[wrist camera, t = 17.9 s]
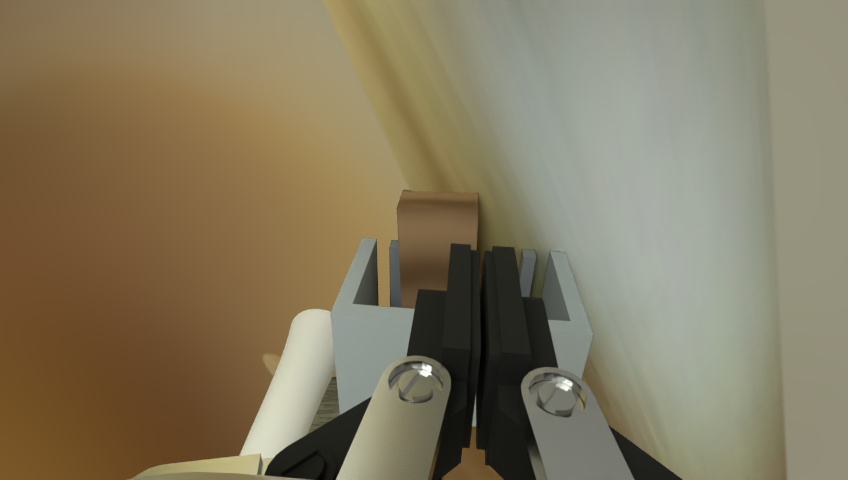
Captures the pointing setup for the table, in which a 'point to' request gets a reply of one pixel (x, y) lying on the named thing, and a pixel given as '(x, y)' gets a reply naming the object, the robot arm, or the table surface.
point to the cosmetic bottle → (295, 386)
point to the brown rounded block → (432, 237)
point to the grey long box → (391, 326)
